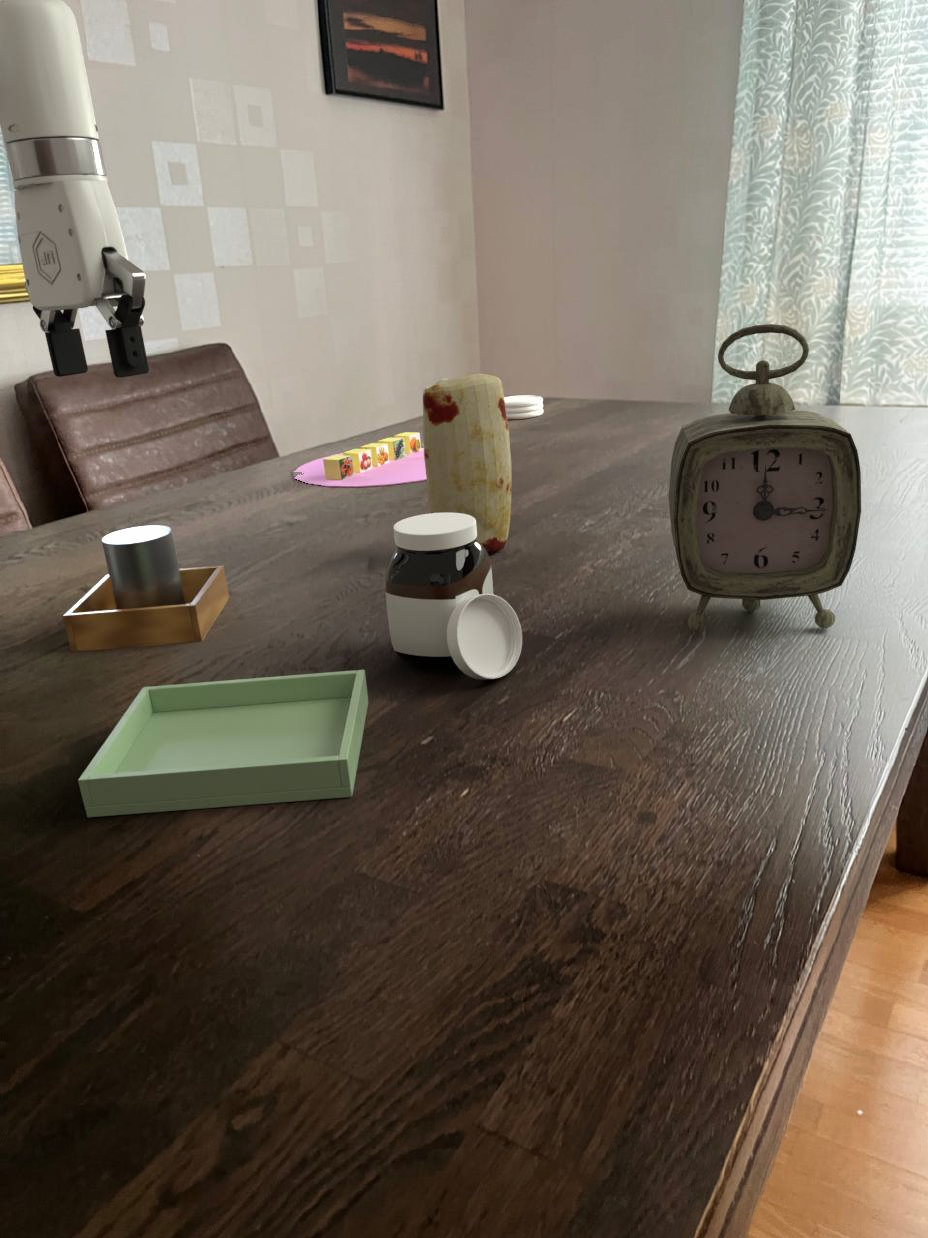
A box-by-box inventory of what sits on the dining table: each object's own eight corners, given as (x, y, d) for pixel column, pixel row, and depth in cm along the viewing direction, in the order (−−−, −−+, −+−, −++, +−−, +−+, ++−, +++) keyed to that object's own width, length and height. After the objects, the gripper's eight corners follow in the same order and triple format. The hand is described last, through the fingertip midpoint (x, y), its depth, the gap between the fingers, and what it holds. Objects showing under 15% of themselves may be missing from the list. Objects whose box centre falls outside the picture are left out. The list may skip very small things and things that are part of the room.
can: (112, 637, 92) (91, 546, 89) (132, 613, 98) (114, 528, 95) (178, 631, 92) (161, 541, 89) (195, 608, 98) (178, 522, 95)
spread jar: (428, 629, 89) (416, 506, 85) (546, 638, 85) (539, 509, 81) (370, 683, 79) (353, 546, 75) (501, 695, 75) (491, 551, 70)
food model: (441, 567, 107) (424, 382, 100) (426, 551, 113) (409, 376, 106) (524, 553, 109) (514, 372, 102) (505, 539, 115) (494, 366, 108)
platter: (252, 481, 158) (248, 461, 157) (369, 442, 183) (367, 425, 182) (412, 492, 142) (410, 469, 140) (517, 448, 167) (516, 428, 165)
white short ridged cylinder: (489, 420, 197) (488, 403, 196) (502, 412, 206) (501, 395, 204) (536, 419, 194) (535, 401, 192) (548, 410, 202) (547, 393, 201)
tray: (86, 818, 62) (77, 780, 61) (149, 719, 76) (142, 686, 75) (352, 797, 62) (347, 759, 61) (368, 702, 75) (364, 669, 74)
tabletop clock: (674, 640, 82) (673, 335, 73) (667, 603, 91) (666, 326, 82) (852, 636, 80) (874, 321, 71) (829, 599, 88) (845, 313, 80)
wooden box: (72, 657, 90) (62, 615, 88) (114, 611, 101) (106, 574, 100) (203, 646, 89) (195, 605, 88) (230, 602, 101) (223, 565, 99)
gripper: (-35, 179, 84) (13, 380, 90) (73, 153, 74) (119, 382, 80) (45, 179, 89) (85, 368, 95) (156, 155, 79) (193, 369, 85)
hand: (101, 374), depth 88 cm, fingers open, 9 cm apart
